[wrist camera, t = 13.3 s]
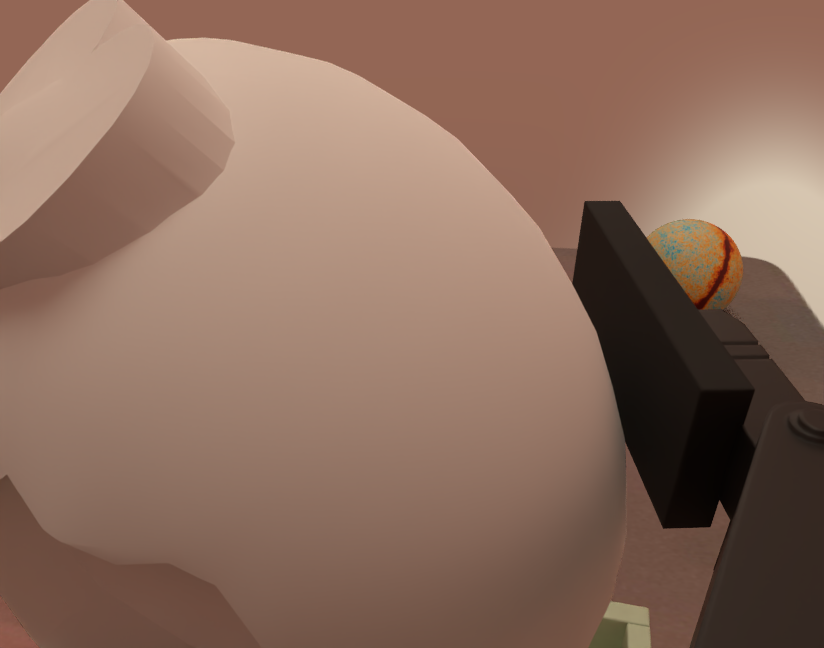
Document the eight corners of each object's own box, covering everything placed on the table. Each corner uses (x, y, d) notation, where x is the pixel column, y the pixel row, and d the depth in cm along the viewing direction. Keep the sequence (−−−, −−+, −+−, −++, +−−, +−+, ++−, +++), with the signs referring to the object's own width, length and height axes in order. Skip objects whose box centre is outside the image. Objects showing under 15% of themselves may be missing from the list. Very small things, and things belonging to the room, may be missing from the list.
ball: (630, 338, 50) (650, 243, 46) (620, 287, 56) (636, 199, 52) (739, 347, 49) (767, 251, 46) (717, 294, 55) (740, 206, 52)
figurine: (285, 454, 24) (235, -71, 16) (634, 603, 20) (804, -26, 12) (-40, 763, 16) (-473, 1, 8) (432, 1148, 11) (540, 257, 3)
